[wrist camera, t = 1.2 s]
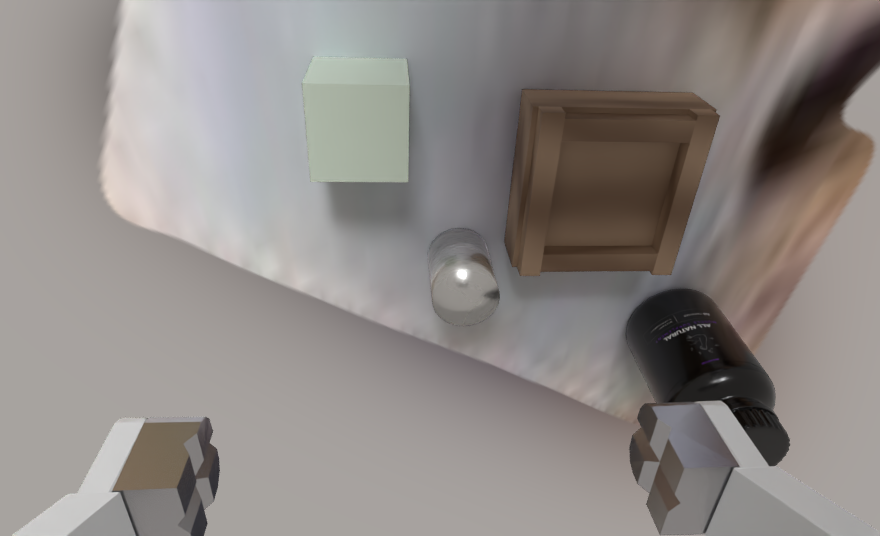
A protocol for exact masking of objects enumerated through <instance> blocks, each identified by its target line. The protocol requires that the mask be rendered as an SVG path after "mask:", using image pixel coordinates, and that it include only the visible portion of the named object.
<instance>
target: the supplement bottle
mask: <svg viewBox="0 0 880 536" xmlns="http://www.w3.org/2000/svg"><path fill="white" fill-rule="evenodd" d="M626 338H627V342H628V345H629V348H630V350H631V352H632V354H633V356H634V358H635V361H636V363H637V365H638V367H639V369H640V371H641V373H642V375H643V377H644V379H645V381H646V383H647V385H648V387H649V389H650V392H651V394H652V396H653V398H654V400H655V402H656V403H673V402H697V401H722V402H723V403H725V404H726V405H727V406H728V408H729V409H730V410H731V412H732V413H733V415H734V416H735V418H736V419H737V421H738V422H739V423H740V425H741V426H742V428H743V429H744V431H745V432H746V434H747V435H748V436H749V438H750V439H751V441H752V442H753V444H754V445H755V447H756V448H757V449H758V451H759V452H760V454H761V455H762V457H763V458H764V459H765V461H766V462H767V464H768V465H769V466H776V465H777V464H778V463H779V462H780V461H781V460H782V459H783V457H784V456H786V453H787V452H788V450H789V446H790V443H789V441H790V439H789V437H788V434H787V432H786V431H785V429H784V428H783V426H782V425H781V423H780V422H779V419H778V417H777V416H776V414H775V413H774V411H773V409H774V406H775V388H774V385H773V383H772V381H771V379H770V378H769V376H768V374H767V373H766V372H765V370H764V369H763V368H762V366H761V365H760V363H759V362H758V361H757V359H756V358H755V357H754V355H753V354H752V353H751V351H750V350H749V348H748V347H747V346H746V344H745V343H744V342H743V340H742V339H741V338H740V336H739V335H738V333H737V332H736V331H735V329H734V328H733V327H732V325H731V324H730V322H729V321H728V320H727V318H726V317H725V316H724V314H723V313H722V312H721V310H720V309H719V308H718V306H717V305H716V304H715V303H714V301H713V300H712V299H711V298H709V297H708V296H707V295H705V294H703V293H701V292H699V291H696V290H691V289H672V290H668V291H664V292H661V293H659V294H656V295H654V296H652V297H651V298H649V299H647V300H646V301H645V302H643V303H642V304H641V305H640V306H639V307H638V308H637V309H636V310H635V311H634V313H633V314H632V316H631V318H630V320H629V322H628V325H627V329H626Z"/></svg>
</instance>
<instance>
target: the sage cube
mask: <svg viewBox="0 0 880 536" xmlns="http://www.w3.org/2000/svg"><path fill="white" fill-rule="evenodd" d="M302 90H303V102H304V113H305V125H306V137H307V148H308V160H309V172H310V182H408V164H409V90H410V85H409V75H408V64H407V59H392V58H351V57H313V58H312V61H311V63H310V65H309V68H308V70H307V72H306V75H305V77H304V80H303V82H302Z"/></svg>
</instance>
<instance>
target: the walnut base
mask: <svg viewBox="0 0 880 536" xmlns="http://www.w3.org/2000/svg"><path fill="white" fill-rule="evenodd" d="M716 110H717V109H715V108H714V107H712V106H711V105H709V104H708V103H707V102H705V101H704V100H702V99H701V98H699V97H698V96H697V95H695V94H694V93H685V92H635V91H585V90H535V89H522V95H521V103H520V112H519V121H518V129H517V138H516V146H515V155H514V163H513V172H512V180H511V189H510V197H509V206H508V214H507V223H506V231H505V240H504V243H505V246H506V249H507V252H508V255H509V258H510V261H511V264H512V267H517V268H518V271H519V274H520V276H540V272H570V271H650V273H651V274H652V275H671V273H672V270H673V267H674V264H675V260H676V257H677V254H678V251H679V247H680V244H681V241H682V238H683V234H684V231H685V228H686V225H687V221H688V218H689V215H690V212H691V208H692V205H693V202H694V199H695V195H696V192H697V189H698V186H699V182H700V179H701V176H702V173H703V169H704V166H705V163H706V160H707V156H708V153H709V150H710V147H711V143H712V140H713V137H714V134H715V130H716V127H717V124H718V121H719V117H720V115H718V114H717V113H716Z"/></svg>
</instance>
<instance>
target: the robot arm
mask: <svg viewBox="0 0 880 536" xmlns="http://www.w3.org/2000/svg"><path fill="white" fill-rule="evenodd" d="M637 419H638V421H639V423H640V425H641V428H640V429H639V430H638V431H636V432H635V433H634V434H633V435H632V439H631V443H630V463H631V467H632V471H633V474H634V476H635V479H636V481H637V484H638V485H640V486H641V487H642V488H643V489H645V490H646V491H647V492H648V493H650V494H649V497H648V500H647V504H646V505H647V507H648V509H649V511H650V514H651V516H652V518H653V520H654V523H655V525H656V527H657V529H658V532H659V534H660V535H693V534H705V536H880V531H878V530H876V529H874V528H873V527H872V526H870V525H869V524H867V523H865V522H864V521H862V520H861V519H859V518H858V517H856V516H854V515H853V514H851V513H849V512H848V511H847V510H845V509H843V508H842V507H840V506H839V505H837V504H836V503H834V502H832V501H831V500H829V499H828V498H826V497H825V496H823V495H821V494H820V493H818V492H817V491H815V490H814V489H812V488H810V487H809V486H807V485H806V484H804V483H802V482H801V481H799V480H798V479H796V478H794V477H793V476H791V475H790V474H788V473H787V472H785V471H784V470H782V469H780V468H779V467H777V466H769V465H768V464H767V462H766V461H765V459H764V458H763V457H762V455H761V454H760V452H759V451H758V449H757V448H756V447H755V445H754V444H753V442H752V441H751V439H750V438H749V436H748V435H747V434H746V432H745V431H744V429H743V428H742V426H741V425H740V423H739V422H738V421H737V419H736V418H735V416H734V415H733V413H732V412H731V410H730V409H729V408H728V406H727V405H726V404H725V403H723V402H722V401H697V402H673V403H647V404H644V405H643V406H642V407H641V408H640V411H639V414H638V418H637ZM212 433H213V430H212V426H211V423H210V419H209V418H207V417H150V418H120V419H119V420H118V421H117V422H116V423H115V424H114V425H113V426H112V428H111V430H110V432H109V434H108V436H107V438H106V439H105V441H104V443H103V445H102V447H101V449H100V451H99V453H98V454H97V456H96V458H95V460H94V462H93V464H92V466H91V468H90V470H89V471H88V473H87V475H86V477H85V479H84V481H83V483H82V484H81V486H80V488H79V490H78V492H77V494H67V495H66V496H64V497H63V498H62V499H60V500H59V501H58V502H56V503H55V504H53V505H52V506H51V507H49V508H48V509H47V510H45V511H44V512H43V513H41V514H40V515H39V516H38V517H36V518H35V519H33V520H32V521H31V522H29V523H28V524H27V525H25V526H24V527H22V528H21V529H20V530H18V531H17V532H16V533H14V534H13V535H12V536H204V533H205V530H206V527H207V519H206V515H205V511H204V510H205V509H206V508H207V507H208V506H209V505H210V504H212V503H213V502H214V499H215V495H216V492H217V488H218V481H219V471H220V468H219V456H218V451H217V449H216V448H215V447H214V446H213V445H211V444H210V439H211V436H212Z"/></svg>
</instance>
